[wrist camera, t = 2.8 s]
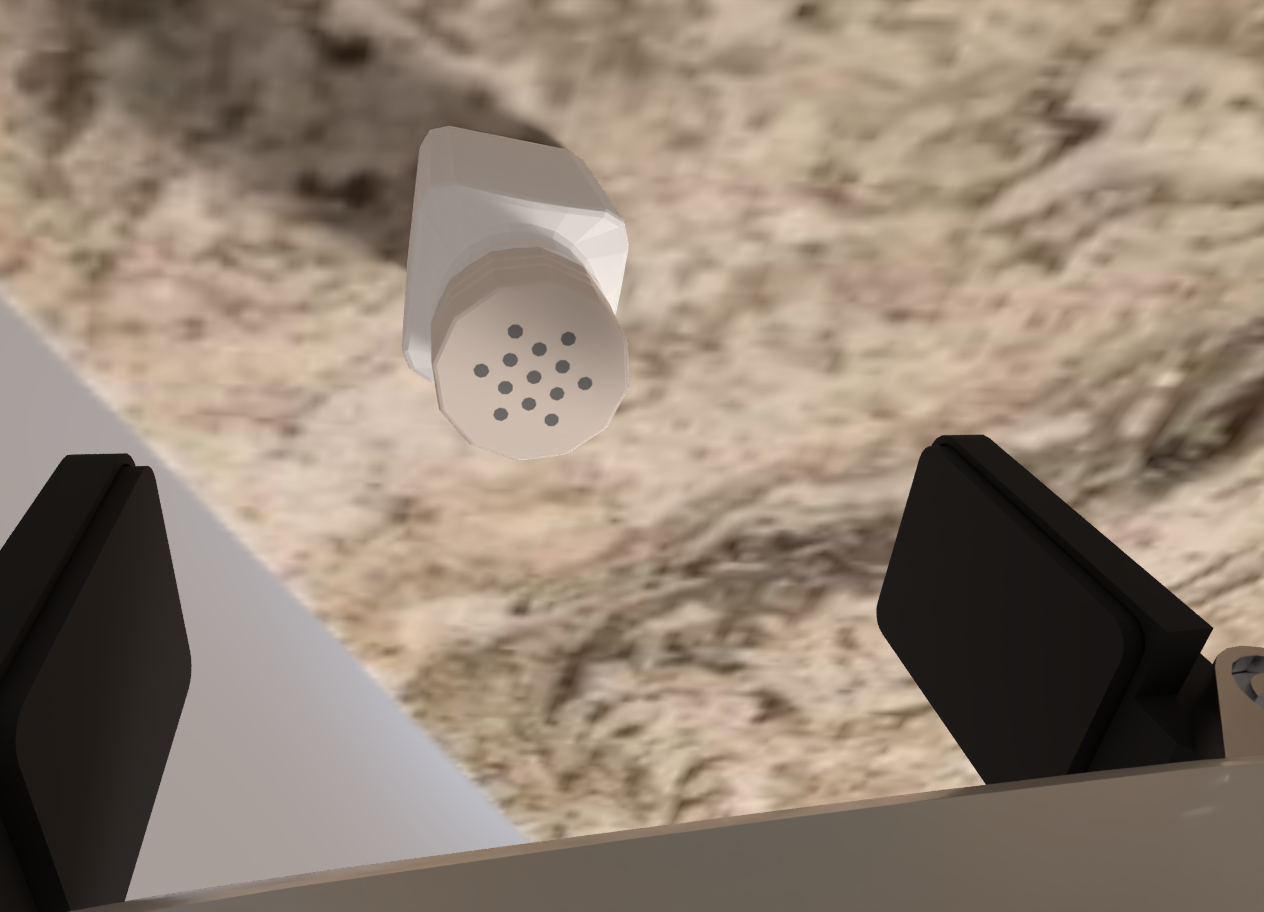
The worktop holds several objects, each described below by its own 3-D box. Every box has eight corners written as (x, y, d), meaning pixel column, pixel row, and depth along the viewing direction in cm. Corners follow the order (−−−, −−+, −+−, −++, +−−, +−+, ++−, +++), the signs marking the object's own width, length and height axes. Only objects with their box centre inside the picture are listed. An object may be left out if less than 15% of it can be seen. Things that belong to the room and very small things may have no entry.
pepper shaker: (405, 278, 22) (392, 471, 14) (422, 115, 20) (419, 233, 12) (558, 301, 23) (626, 492, 15) (587, 149, 22) (682, 277, 14)
